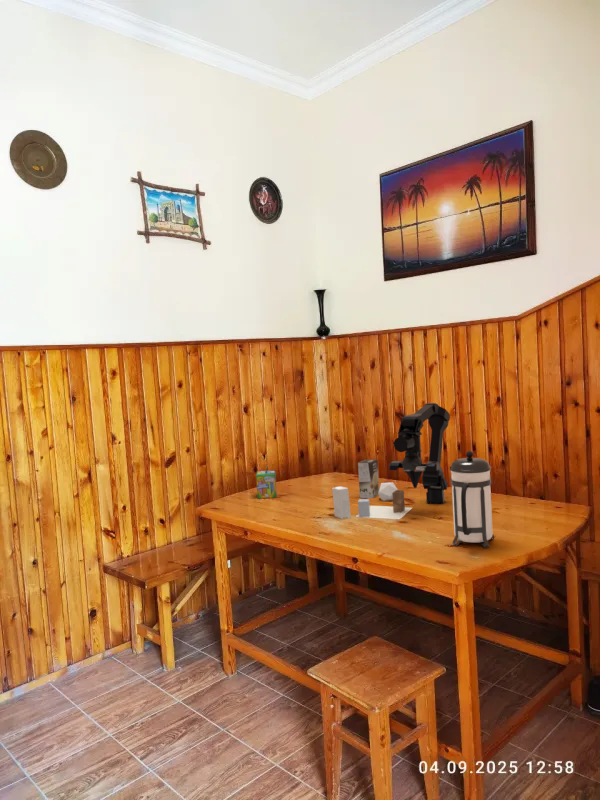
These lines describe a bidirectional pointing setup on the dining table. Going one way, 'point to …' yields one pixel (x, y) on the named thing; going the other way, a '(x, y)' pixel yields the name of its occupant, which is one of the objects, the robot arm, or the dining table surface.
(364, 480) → the coffee box
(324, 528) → the dining table surface
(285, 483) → the dining table surface
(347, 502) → the skincare box
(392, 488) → the die
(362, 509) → the blue-grey block
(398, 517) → the mat
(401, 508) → the walnut block
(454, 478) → the coffee press
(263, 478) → the chalk box
